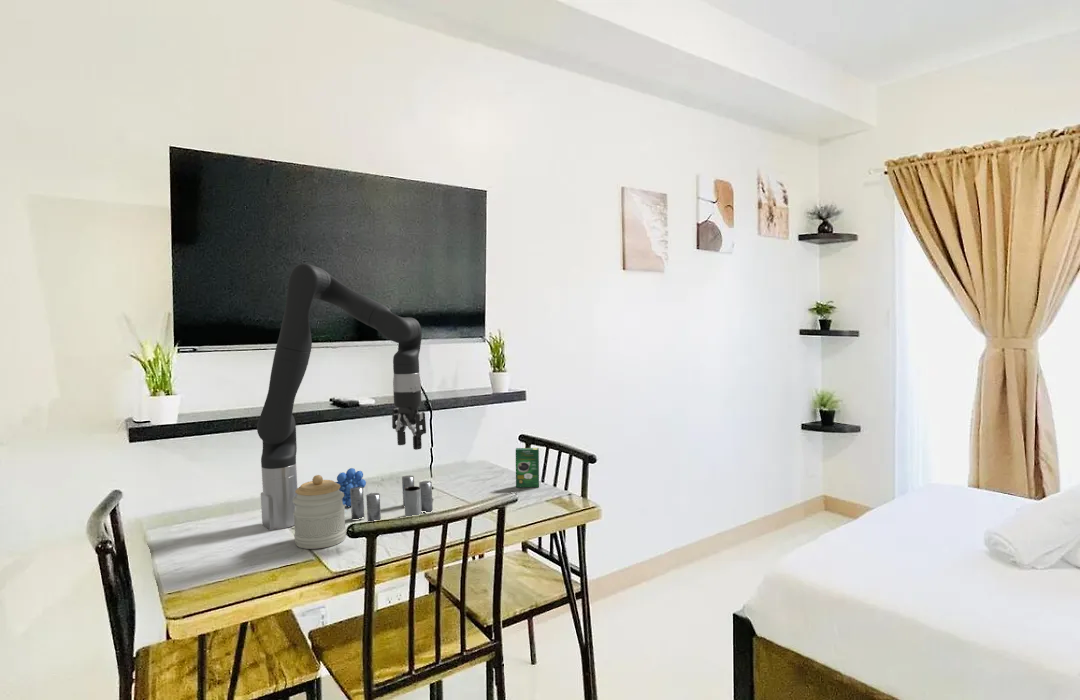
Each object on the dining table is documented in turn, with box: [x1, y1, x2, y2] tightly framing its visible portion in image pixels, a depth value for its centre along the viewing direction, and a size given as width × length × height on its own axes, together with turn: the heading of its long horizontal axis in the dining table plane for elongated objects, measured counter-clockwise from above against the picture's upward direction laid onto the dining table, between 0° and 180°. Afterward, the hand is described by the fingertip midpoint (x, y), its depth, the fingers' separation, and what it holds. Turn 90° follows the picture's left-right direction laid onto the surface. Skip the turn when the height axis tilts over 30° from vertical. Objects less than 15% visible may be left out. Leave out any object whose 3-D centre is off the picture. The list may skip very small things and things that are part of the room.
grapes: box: [334, 467, 367, 507], centre depth 201 cm, size 12×7×12 cm, turn 131°
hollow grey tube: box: [404, 485, 423, 517], centre depth 181 cm, size 4×4×10 cm
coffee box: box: [515, 447, 540, 489], centre depth 216 cm, size 8×3×13 cm, turn 87°
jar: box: [292, 474, 347, 550], centre depth 170 cm, size 13×13×18 cm
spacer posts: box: [350, 474, 434, 522], centre depth 190 cm, size 21×14×9 cm, turn 132°
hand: (409, 447), depth 180 cm, fingers open, 8 cm apart
